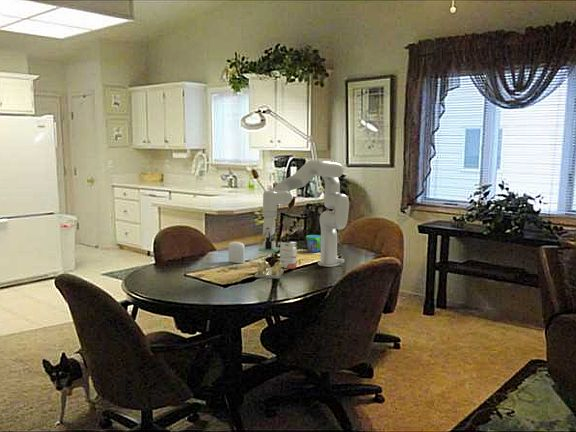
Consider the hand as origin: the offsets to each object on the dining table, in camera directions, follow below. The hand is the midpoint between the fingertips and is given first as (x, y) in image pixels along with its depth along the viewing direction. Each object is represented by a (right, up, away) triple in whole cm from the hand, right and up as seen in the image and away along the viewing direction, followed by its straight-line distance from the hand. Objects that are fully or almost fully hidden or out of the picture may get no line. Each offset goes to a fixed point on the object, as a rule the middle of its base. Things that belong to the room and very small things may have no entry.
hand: (269, 247), depth 301 cm
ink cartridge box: (+10, -13, +20) cm, 26 cm away
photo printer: (-20, -11, +31) cm, 38 cm away
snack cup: (+27, -6, +65) cm, 71 cm away
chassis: (0, -15, +2) cm, 15 cm away
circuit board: (0, -1, 0) cm, 1 cm away
